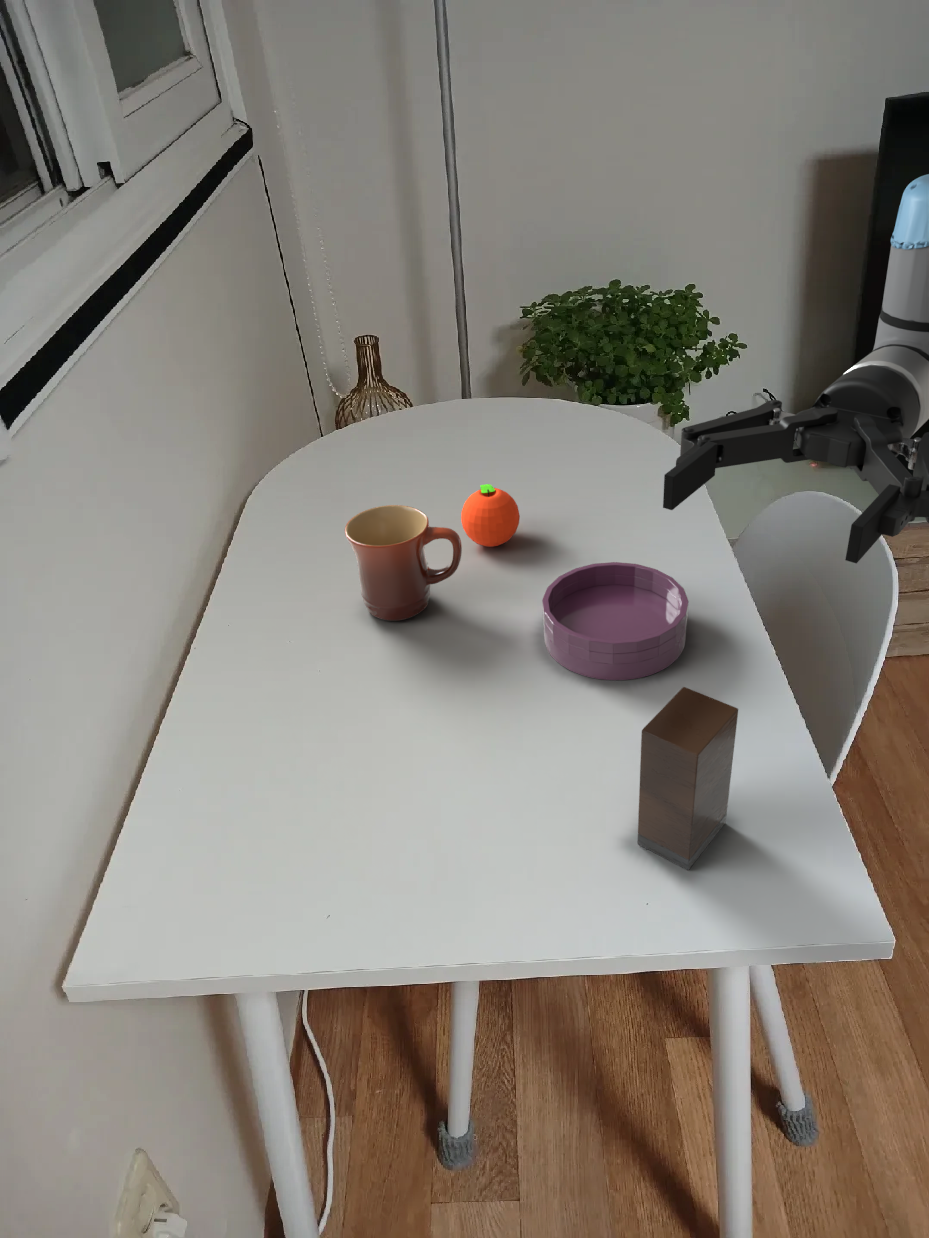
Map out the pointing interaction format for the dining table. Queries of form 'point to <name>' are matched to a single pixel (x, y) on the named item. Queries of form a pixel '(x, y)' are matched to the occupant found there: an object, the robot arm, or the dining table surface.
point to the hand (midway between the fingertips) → (755, 517)
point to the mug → (397, 559)
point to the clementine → (490, 516)
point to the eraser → (685, 776)
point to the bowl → (615, 620)
